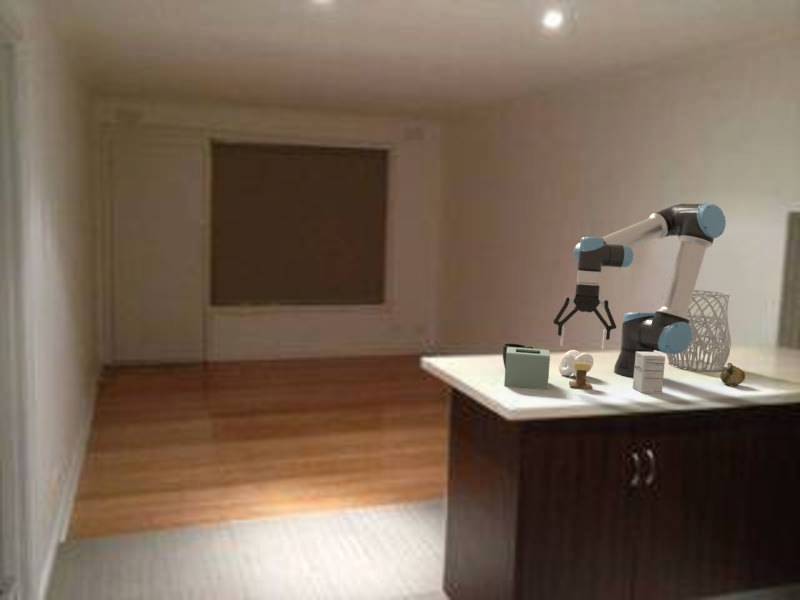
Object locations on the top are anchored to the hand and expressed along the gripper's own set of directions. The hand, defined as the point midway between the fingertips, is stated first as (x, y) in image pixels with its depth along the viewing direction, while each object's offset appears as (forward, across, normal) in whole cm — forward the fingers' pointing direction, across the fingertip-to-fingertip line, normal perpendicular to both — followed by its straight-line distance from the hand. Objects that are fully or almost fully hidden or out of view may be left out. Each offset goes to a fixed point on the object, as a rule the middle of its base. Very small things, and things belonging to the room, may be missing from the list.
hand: (582, 347), depth 249 cm
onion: (+12, -54, -24) cm, 61 cm away
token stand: (+13, 0, 0) cm, 13 cm away
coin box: (+13, +18, +3) cm, 22 cm away
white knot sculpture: (+13, 0, -16) cm, 21 cm away
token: (+7, 0, 0) cm, 7 cm away
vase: (+12, -50, -58) cm, 77 cm away
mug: (+14, +20, -18) cm, 31 cm away
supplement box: (+13, -22, -2) cm, 26 cm away
